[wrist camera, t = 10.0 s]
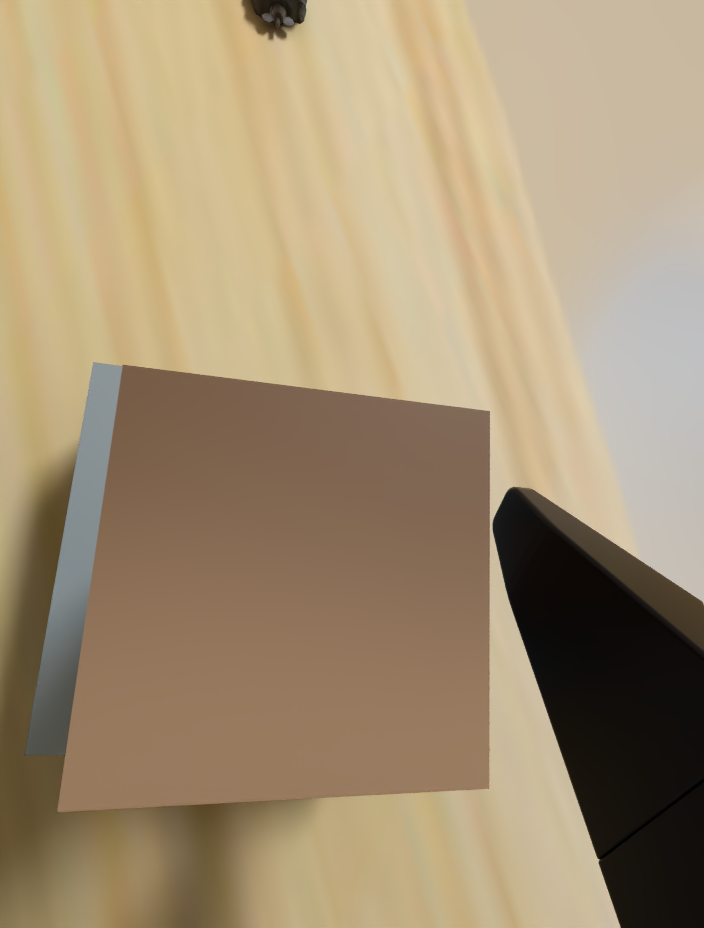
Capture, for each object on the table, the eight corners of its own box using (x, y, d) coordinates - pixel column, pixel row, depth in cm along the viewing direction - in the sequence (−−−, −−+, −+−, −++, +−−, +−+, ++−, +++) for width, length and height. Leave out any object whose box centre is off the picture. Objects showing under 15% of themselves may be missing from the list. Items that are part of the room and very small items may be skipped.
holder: (375, 701, 16) (418, 749, 12) (80, 700, 14) (24, 755, 11) (389, 438, 18) (431, 409, 14) (127, 407, 16) (93, 362, 12)
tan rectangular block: (294, 603, 16) (489, 789, 4) (200, 601, 16) (56, 813, 3) (301, 513, 17) (490, 411, 4) (210, 507, 16) (122, 364, 4)
